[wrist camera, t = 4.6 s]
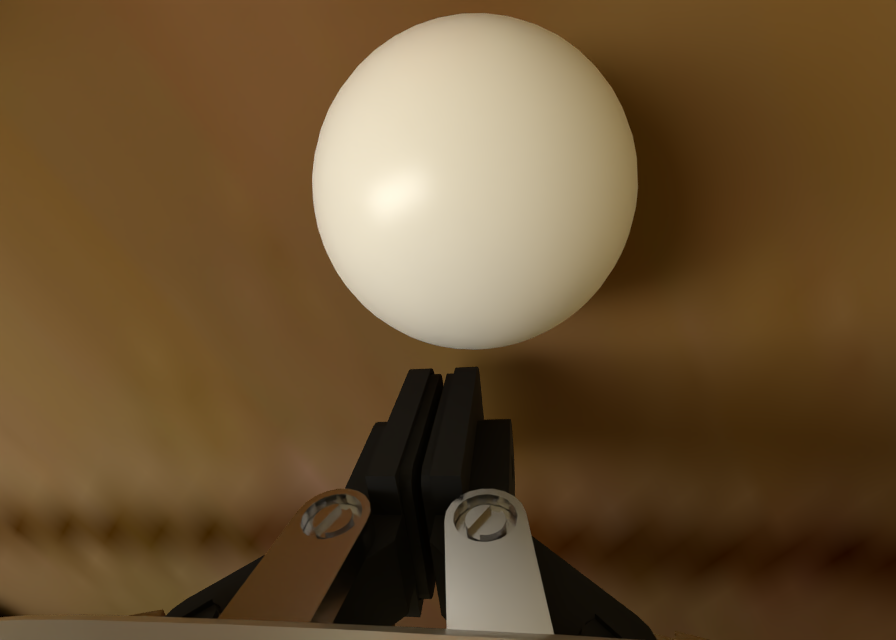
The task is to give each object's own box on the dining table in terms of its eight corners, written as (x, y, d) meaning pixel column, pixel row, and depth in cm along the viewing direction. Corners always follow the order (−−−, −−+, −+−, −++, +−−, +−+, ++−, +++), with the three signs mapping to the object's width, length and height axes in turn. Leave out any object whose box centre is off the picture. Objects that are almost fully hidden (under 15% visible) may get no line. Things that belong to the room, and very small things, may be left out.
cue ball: (320, -36, 4) (363, -55, 9) (260, 384, 8) (314, 219, 12) (799, 144, 6) (632, 51, 10) (579, 438, 9) (524, 272, 13)
